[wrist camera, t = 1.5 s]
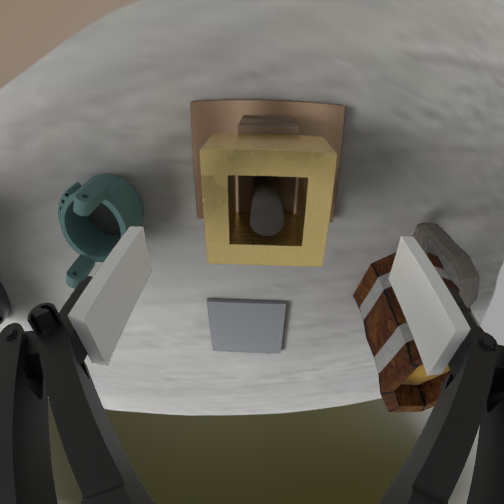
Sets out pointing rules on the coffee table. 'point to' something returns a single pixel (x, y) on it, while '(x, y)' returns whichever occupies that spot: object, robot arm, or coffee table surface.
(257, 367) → the coffee table surface
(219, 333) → the felt mat
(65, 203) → the bracket
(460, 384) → the robot arm
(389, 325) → the mug
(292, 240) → the hollow wooden square frame
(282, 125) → the post stand
